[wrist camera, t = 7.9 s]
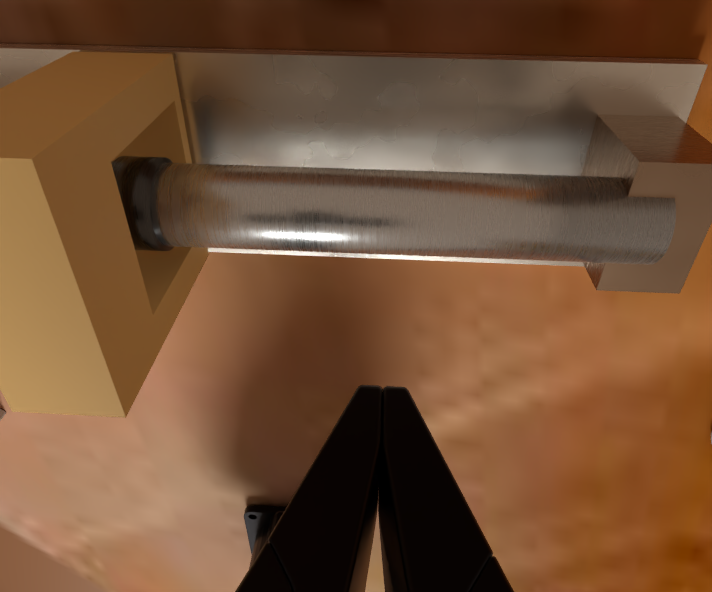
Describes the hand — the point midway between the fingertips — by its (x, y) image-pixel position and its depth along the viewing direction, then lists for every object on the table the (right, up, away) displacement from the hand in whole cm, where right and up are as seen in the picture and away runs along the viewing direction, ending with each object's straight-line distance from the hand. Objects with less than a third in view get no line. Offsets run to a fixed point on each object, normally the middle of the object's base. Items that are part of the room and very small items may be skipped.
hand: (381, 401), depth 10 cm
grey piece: (-2, +6, +9) cm, 11 cm away
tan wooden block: (-7, +7, +9) cm, 14 cm away
